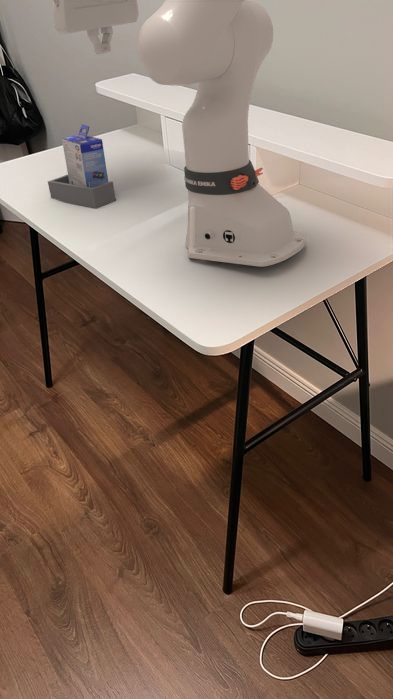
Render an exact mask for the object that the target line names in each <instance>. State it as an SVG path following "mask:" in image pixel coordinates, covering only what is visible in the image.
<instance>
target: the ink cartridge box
mask: <svg viewBox="0 0 393 699" xmlns="http://www.w3.org/2000/svg"><path fill="white" fill-rule="evenodd" d="M83 130H85V132H83ZM89 130H90V126H89V125H86V124H81V125H80V128H79V130H78V134H76V135H69V136H66V137H62V138H61V141H62V147H63V153H64V154H63V155H64V159H65V165H66V170H67V171H66V172H67V175H68V178H69V184H73V185H79V186H84V187H90V188H94V187H96V186H99V185H102V184H104V183H107V182H109V177H108V176H109V175H108V171H107V164H106V163H107V162H106V159H105V158H106V157H105V150H104V142H103V139H102V138H98V137H94V136H90V135H88V133H89Z"/></svg>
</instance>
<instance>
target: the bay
mask: <svg viewBox="0 0 393 699" xmlns="http://www.w3.org/2000/svg"><path fill="white" fill-rule="evenodd" d="M47 184H48V189H49V193H50V198H52V199H54V200H57V201H60V202H62V203H66V204H71V205H77V206H81V207H85V208H91V209H98V208H101V207H103V206H105V205H108V204H110V203H113V202H115V201H116V199H117V198H116V192H115V186H114V181H112V180H110V181H109V180H108V182H107V183H104V184H102V185H99V186H96V187H94V188H90V187H84V186H79V185H73V184H69V178H68V174H66V175H62V176H60V177H57V178H54V179H51V180H48V181H47Z"/></svg>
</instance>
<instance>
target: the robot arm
mask: <svg viewBox="0 0 393 699" xmlns="http://www.w3.org/2000/svg"><path fill="white" fill-rule="evenodd" d="M138 7H139V6H138V0H52V14H53V24H54V28H55V30H56V31H57V33H59V34H60V35H62V34H63V35H65V34H73V33H80V32H87V37H88V38H89V40H90V42H91V43H92V45H93V47H94V52H95V55H102V54H106V53H111V51H112V48H111V40H112V37H113V32H114V31H113V27H115V26H121V25H126V24H134V23H136V22H137V21H138V18H139V8H138ZM100 33H101V34H102V39H100V37H99V36H100ZM273 40H274V28H273V22H272V19H271V16H270V14H269V13H268V11H267V9H265V8H264V6H263V5H262V4H260V3H258V2H255V1H252V0H164V2H163V3H162V5H160V7H159V8H158V9H157V10H156V11H155V12H154V13H153V14H152V15H150V16H149V17H148V18H147V19H146V20H145V21H144V22H143V23H142V25H141V28H140V30H139V32H138V38H137V53H138V58H139V62H140V65H141V67H142V69H143V71H144V72H145V74H146V75H147V76H148V77H149V79H151V80H152V81H153V82H154V83H156V84H158V85H163V86H179V87H181V86H183V87H184V86H185V87H187V86H191V85H193V84H197V83H198V85H197V90H196V94H195V97H194V100H193V102H192V104H191V106H190V107H189V109H188V110H187V111H186V113H185V114H184V116H183V119H182V123H181V125H182V126H181V129H182V130H181V131H182V138H183V149H184V158H185V166H184V167H183V169H184V170H183V174H184V183H185V189H186V190H187V193H188V194H187V195H188V197H187V199H188V206H187V207H188V212H187V214H188V216H187V229H186V230H187V231H186V236H185V241H184V244H185V247H186V249H187V256H188V257H189V258H190V259H194V260H195V259H196V260H203V261H212V262H219V263H220V262H221V263H227V264H228V263H229V264H235V265H242V266H243V265H245V266H253V267H268V266H273V265H276V264H279V263H282V262H284V261H285V260H287V259H289V258H291V257H293V256H295V255H296V254H297V253H299V252H300V251H301V250H302V249H303V248H304V247H305V246H306V243H307V240H306V239H307V238H306V235H305V234H302V233H299V232H296V231H294V228H293V222H292V217H291V214H290V211H289V209H288V208H287V207H286V206H285V205H283V203H281V202H280V201H279V200H278V199H276V198H275V197H274V196H273V195H272V194H271V193H270V192H268V190H267V189H266V188H264V187H263V186H261V185H260V183H259V181H260V180H259V176H261V175H263V173H264V172H261V171H262V170H264V168H263V167H259V168H258V169H255V168H254V165H253V163H252V161H251V160H250V156H249V154H250V153H249V152H250V151H249V111H250V109H249V108H250V104H251V103H250V102H251V98H252V93H253V89H254V84H255V82H256V78H257V75H258V72H259V69H260V68H261V65H262V64H263V61H264V60H265V59H266V57H267V55H269V53H270V50H271V48H272V45H273Z"/></svg>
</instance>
